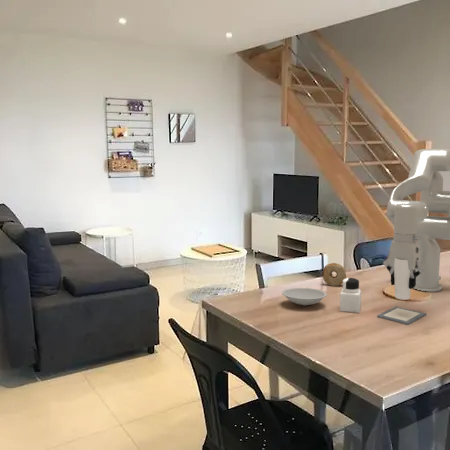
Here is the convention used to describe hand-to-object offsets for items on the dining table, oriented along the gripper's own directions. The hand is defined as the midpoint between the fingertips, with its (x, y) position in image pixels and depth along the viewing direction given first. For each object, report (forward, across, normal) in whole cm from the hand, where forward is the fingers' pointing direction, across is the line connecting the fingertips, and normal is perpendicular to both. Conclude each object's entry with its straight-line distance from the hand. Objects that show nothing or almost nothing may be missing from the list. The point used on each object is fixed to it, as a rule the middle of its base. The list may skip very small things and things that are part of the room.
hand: (402, 285), depth 187 cm
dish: (+12, +34, +14) cm, 39 cm away
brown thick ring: (+12, +41, -17) cm, 46 cm away
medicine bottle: (+12, +18, +6) cm, 22 cm away
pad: (+12, 0, 0) cm, 12 cm away
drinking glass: (+5, 0, 0) cm, 5 cm away
